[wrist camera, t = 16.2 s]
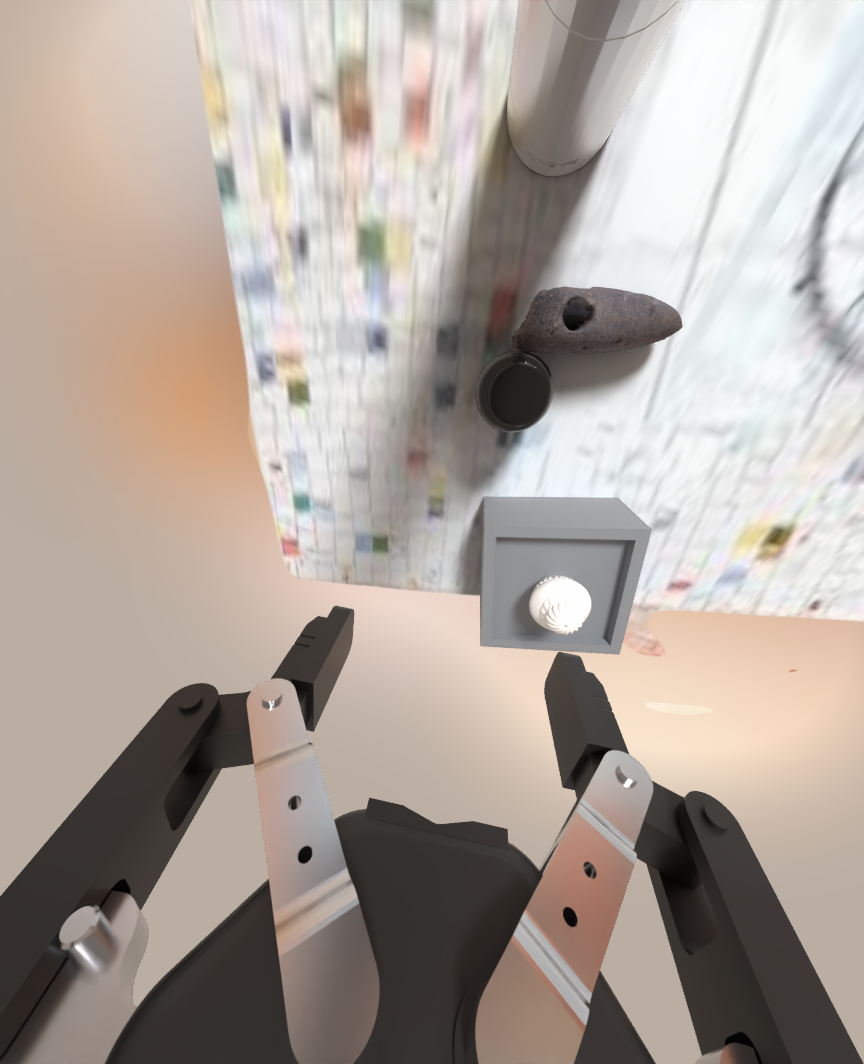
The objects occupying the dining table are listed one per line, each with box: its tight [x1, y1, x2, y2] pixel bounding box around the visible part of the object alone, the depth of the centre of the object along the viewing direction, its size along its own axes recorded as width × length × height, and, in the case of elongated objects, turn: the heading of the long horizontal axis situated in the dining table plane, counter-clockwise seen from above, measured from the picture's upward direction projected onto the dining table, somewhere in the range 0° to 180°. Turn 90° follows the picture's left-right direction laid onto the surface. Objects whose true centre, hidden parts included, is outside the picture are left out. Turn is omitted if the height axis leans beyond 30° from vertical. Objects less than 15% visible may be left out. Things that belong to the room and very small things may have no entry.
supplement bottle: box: [476, 351, 554, 432], centre depth 33 cm, size 7×7×12 cm
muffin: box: [529, 575, 591, 635], centre depth 36 cm, size 6×6×7 cm
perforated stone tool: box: [512, 287, 683, 354], centre depth 32 cm, size 15×5×7 cm, turn 87°
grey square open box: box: [480, 497, 652, 654], centre depth 42 cm, size 16×16×9 cm
